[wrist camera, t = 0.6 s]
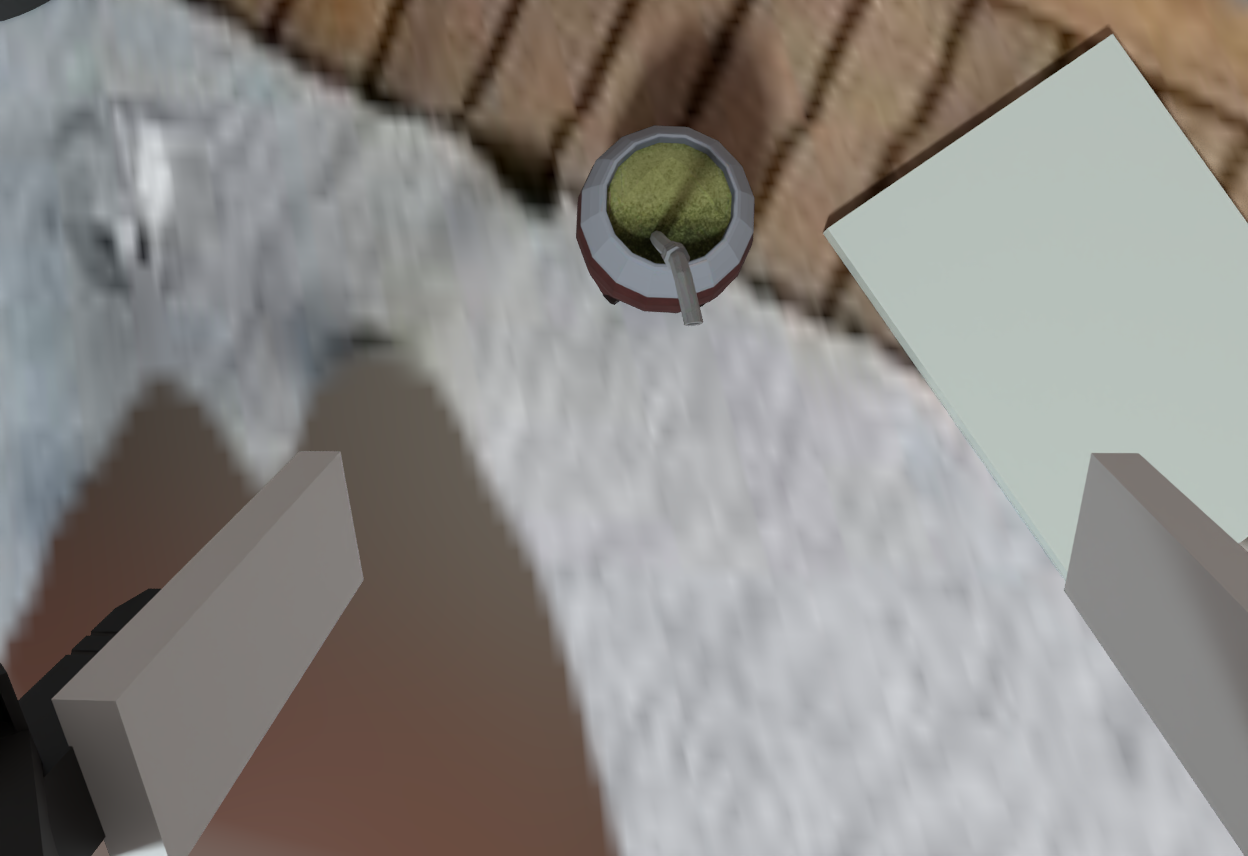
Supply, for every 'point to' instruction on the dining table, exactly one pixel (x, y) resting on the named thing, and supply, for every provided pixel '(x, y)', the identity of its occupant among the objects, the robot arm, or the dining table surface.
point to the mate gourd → (665, 221)
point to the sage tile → (1072, 295)
